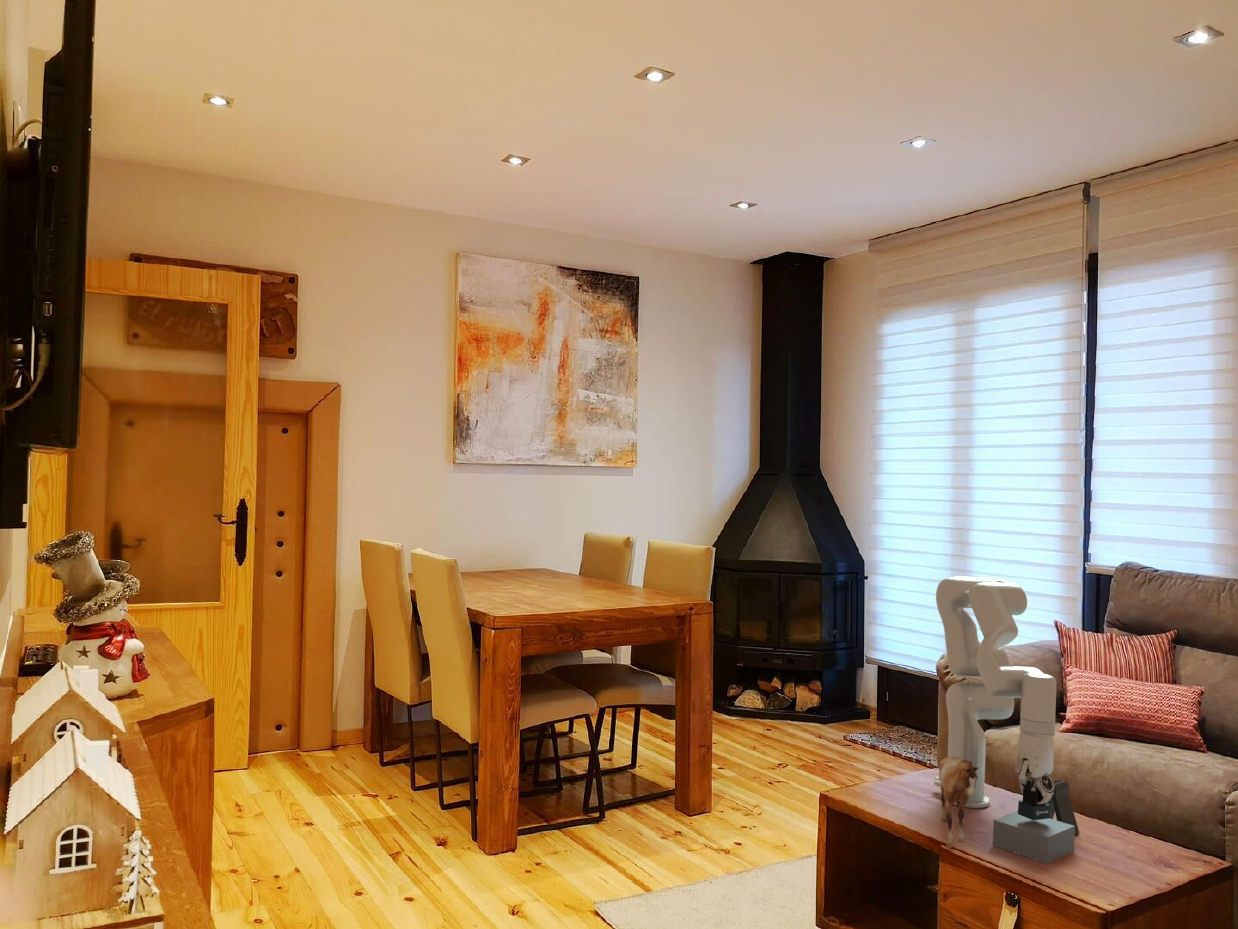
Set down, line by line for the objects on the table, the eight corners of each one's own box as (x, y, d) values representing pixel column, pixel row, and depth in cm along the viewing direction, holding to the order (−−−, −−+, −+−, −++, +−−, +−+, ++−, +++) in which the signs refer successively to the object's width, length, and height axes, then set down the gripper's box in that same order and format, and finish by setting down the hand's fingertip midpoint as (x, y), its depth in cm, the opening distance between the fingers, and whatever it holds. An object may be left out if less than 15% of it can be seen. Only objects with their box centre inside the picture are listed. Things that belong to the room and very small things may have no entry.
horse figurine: (975, 858, 213) (978, 766, 214) (939, 852, 215) (942, 762, 216) (968, 815, 243) (971, 734, 243) (936, 810, 245) (939, 731, 246)
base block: (992, 845, 221) (993, 819, 222) (1019, 834, 230) (1020, 809, 230) (1047, 864, 211) (1048, 837, 212) (1073, 852, 220) (1074, 826, 220)
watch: (1040, 823, 216) (1044, 775, 216) (1011, 811, 223) (1014, 764, 224) (1056, 821, 219) (1060, 773, 219) (1027, 809, 226) (1030, 763, 226)
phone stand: (1079, 834, 232) (1081, 785, 233) (1066, 838, 229) (1068, 788, 229) (1044, 822, 240) (1046, 775, 240) (1031, 826, 236) (1033, 778, 236)
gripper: (1038, 719, 230) (1035, 794, 229) (1004, 727, 219) (1001, 807, 219) (1069, 726, 224) (1066, 803, 223) (1035, 735, 213) (1032, 817, 213)
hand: (1034, 804), depth 221 cm, fingers closed on watch, 3 cm apart
